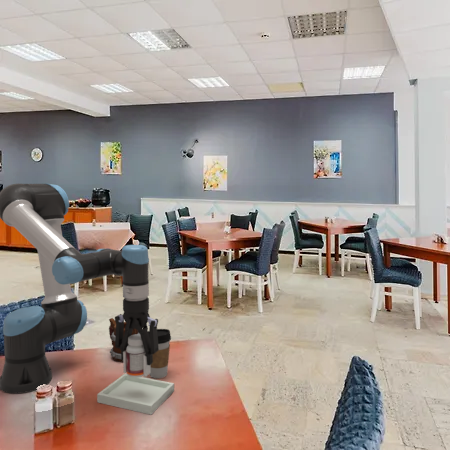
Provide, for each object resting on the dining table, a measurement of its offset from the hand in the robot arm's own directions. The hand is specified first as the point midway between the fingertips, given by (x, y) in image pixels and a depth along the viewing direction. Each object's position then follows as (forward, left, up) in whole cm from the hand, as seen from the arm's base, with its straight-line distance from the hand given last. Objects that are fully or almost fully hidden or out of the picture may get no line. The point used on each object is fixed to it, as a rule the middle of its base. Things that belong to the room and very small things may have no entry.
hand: (137, 372), depth 121 cm
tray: (0, 0, -8) cm, 8 cm away
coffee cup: (-1, +15, -8) cm, 17 cm away
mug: (-21, +24, -8) cm, 33 cm away
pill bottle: (0, 0, -1) cm, 1 cm away
